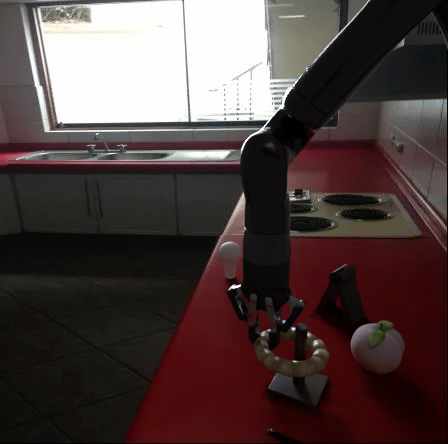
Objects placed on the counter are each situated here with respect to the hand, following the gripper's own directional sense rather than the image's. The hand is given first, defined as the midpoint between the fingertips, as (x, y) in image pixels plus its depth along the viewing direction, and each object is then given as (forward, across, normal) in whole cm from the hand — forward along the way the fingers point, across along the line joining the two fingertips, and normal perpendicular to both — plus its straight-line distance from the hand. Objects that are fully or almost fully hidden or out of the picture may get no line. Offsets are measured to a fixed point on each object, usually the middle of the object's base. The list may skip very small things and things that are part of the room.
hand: (263, 344), depth 73 cm
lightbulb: (+7, -22, +33) cm, 40 cm away
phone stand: (+7, +7, +27) cm, 29 cm away
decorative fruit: (+7, +16, +12) cm, 21 cm away
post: (+7, +6, 0) cm, 9 cm away
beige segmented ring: (-1, +5, 0) cm, 5 cm away
